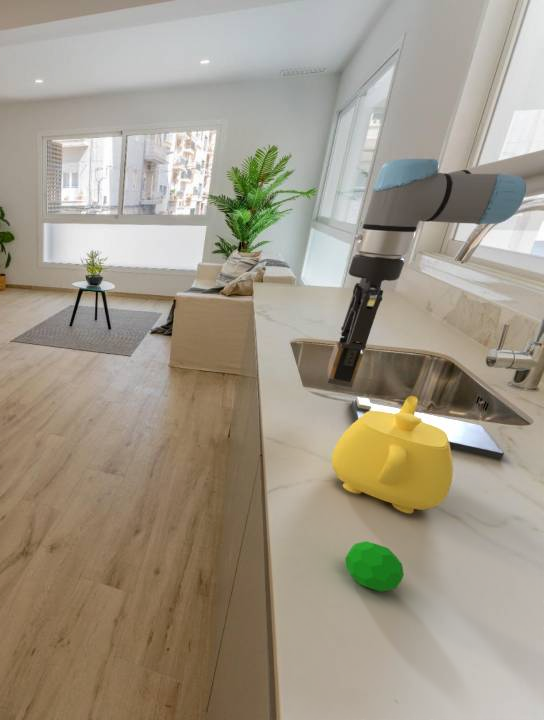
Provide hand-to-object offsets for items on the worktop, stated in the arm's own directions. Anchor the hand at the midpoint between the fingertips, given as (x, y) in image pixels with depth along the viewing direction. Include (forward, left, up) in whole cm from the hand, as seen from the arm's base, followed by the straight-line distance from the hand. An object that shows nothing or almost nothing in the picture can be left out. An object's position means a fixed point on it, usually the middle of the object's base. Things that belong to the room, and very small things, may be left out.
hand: (340, 373), depth 84 cm
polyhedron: (-1, +48, -8) cm, 49 cm away
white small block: (-15, +2, -6) cm, 16 cm away
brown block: (0, 0, -1) cm, 1 cm away
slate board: (-14, +1, -8) cm, 16 cm away
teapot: (-5, +26, -8) cm, 28 cm away
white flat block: (-6, -2, -6) cm, 9 cm away
